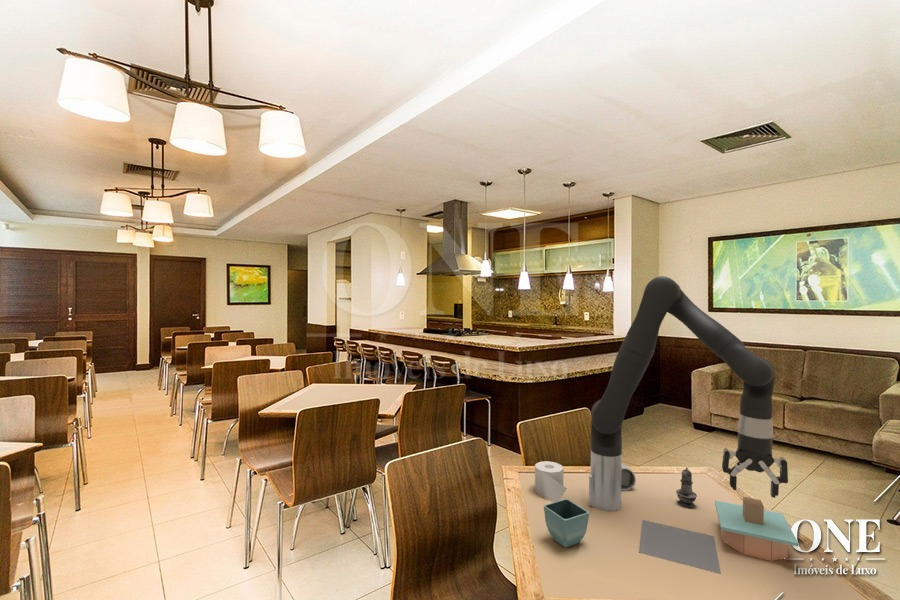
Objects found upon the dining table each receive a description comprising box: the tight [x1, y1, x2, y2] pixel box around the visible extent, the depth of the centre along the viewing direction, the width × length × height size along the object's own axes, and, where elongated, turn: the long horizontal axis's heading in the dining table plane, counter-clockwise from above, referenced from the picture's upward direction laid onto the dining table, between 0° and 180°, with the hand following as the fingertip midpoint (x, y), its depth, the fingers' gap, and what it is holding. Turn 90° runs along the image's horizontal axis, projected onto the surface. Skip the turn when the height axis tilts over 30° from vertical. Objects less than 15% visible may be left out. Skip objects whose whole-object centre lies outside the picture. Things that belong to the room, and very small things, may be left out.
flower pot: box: [543, 498, 590, 549], centre depth 115 cm, size 9×9×9 cm
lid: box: [714, 496, 800, 547], centre depth 114 cm, size 16×16×6 cm
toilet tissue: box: [534, 460, 568, 503], centre depth 143 cm, size 9×13×9 cm
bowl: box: [720, 529, 789, 562], centre depth 114 cm, size 14×14×6 cm
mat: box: [638, 519, 722, 575], centre depth 114 cm, size 18×18×1 cm
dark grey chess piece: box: [675, 467, 698, 509], centre depth 136 cm, size 6×6×12 cm
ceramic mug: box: [621, 462, 637, 492], centre depth 150 cm, size 11×8×8 cm
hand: (753, 492), depth 114 cm, fingers open, 8 cm apart
